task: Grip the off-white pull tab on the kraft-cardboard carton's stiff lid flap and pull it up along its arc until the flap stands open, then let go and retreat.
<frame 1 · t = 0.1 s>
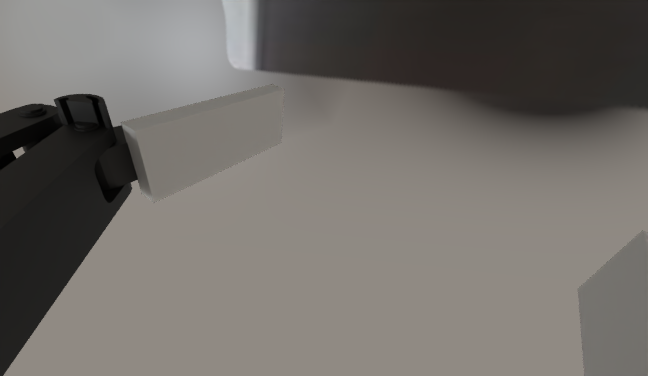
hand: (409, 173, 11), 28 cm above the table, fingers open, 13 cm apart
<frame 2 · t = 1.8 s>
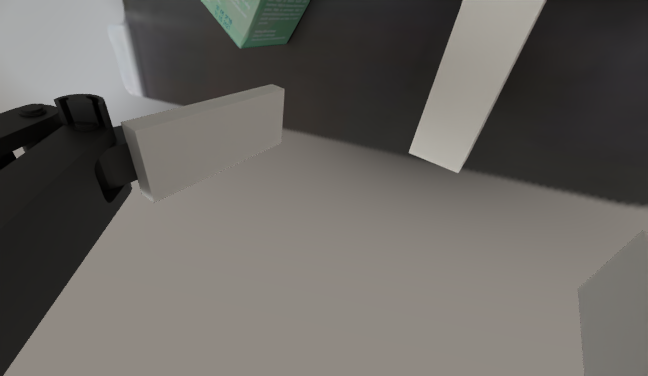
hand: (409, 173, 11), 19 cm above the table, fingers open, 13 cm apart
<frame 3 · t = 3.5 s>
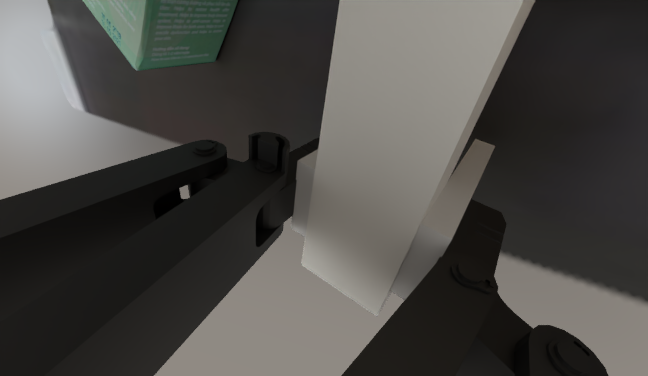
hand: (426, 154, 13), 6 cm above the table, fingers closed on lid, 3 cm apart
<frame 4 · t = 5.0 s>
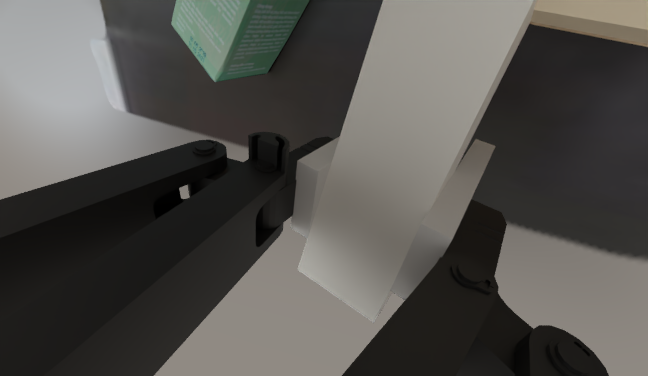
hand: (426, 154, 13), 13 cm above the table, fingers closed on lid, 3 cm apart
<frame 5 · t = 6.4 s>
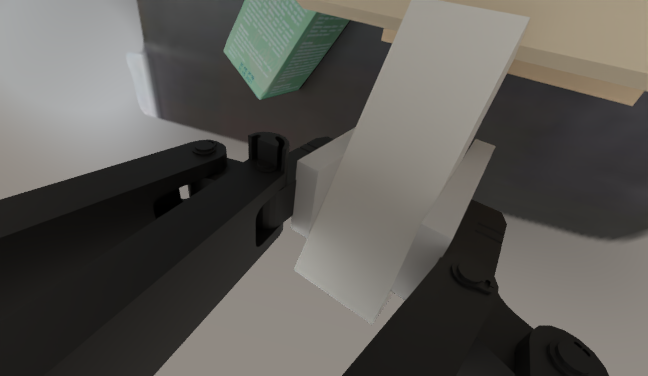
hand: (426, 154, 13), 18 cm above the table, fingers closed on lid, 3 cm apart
box: (311, 25, 34), on the table
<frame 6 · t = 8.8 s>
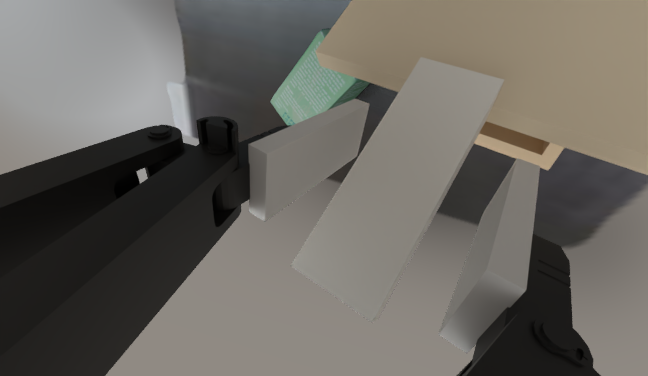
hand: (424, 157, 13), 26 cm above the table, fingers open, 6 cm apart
box: (338, 81, 43), on the table
lid: (504, 5, 12), point 22 cm above the table, hinge at 51.2°
carton: (525, 25, 29), on the table
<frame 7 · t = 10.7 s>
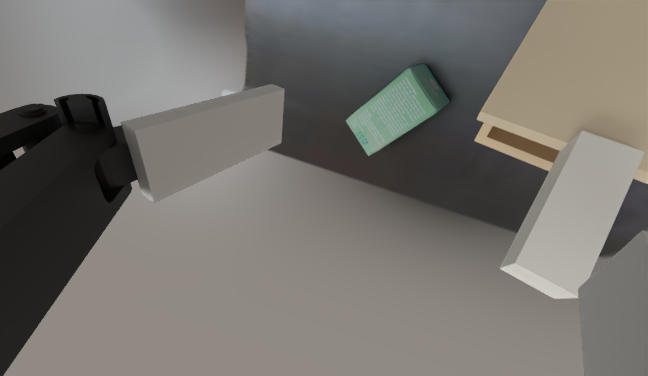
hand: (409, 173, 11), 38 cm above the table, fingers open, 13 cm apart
box: (405, 106, 49), on the table
lid: (626, 93, 18), point 22 cm above the table, hinge at 51.2°
carton: (585, 73, 35), on the table
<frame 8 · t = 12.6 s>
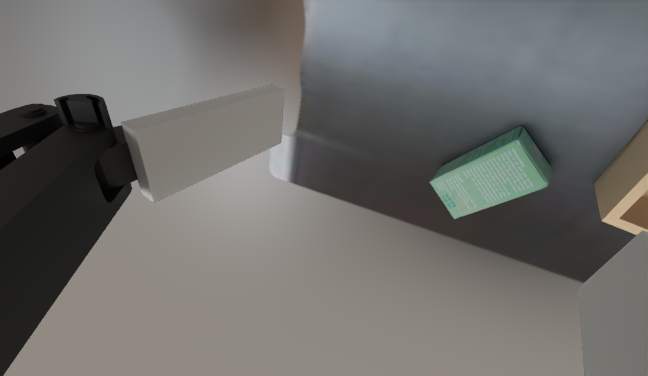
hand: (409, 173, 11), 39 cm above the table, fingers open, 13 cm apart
box: (491, 164, 46), on the table
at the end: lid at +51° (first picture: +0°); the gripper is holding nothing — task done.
